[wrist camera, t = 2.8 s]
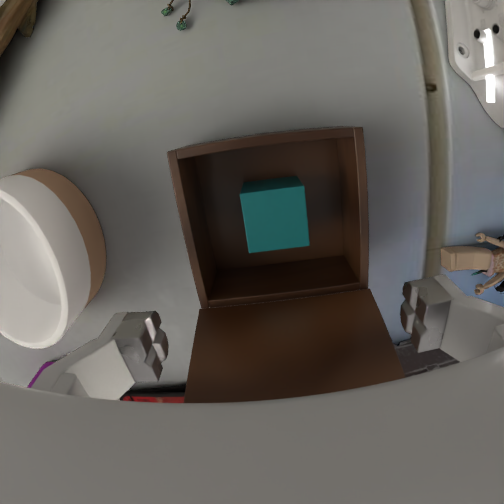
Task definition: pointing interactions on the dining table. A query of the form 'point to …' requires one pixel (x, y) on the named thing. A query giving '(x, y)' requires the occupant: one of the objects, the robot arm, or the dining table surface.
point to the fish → (16, 19)
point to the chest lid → (290, 349)
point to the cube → (275, 214)
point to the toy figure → (477, 261)
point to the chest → (232, 222)
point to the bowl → (46, 256)
